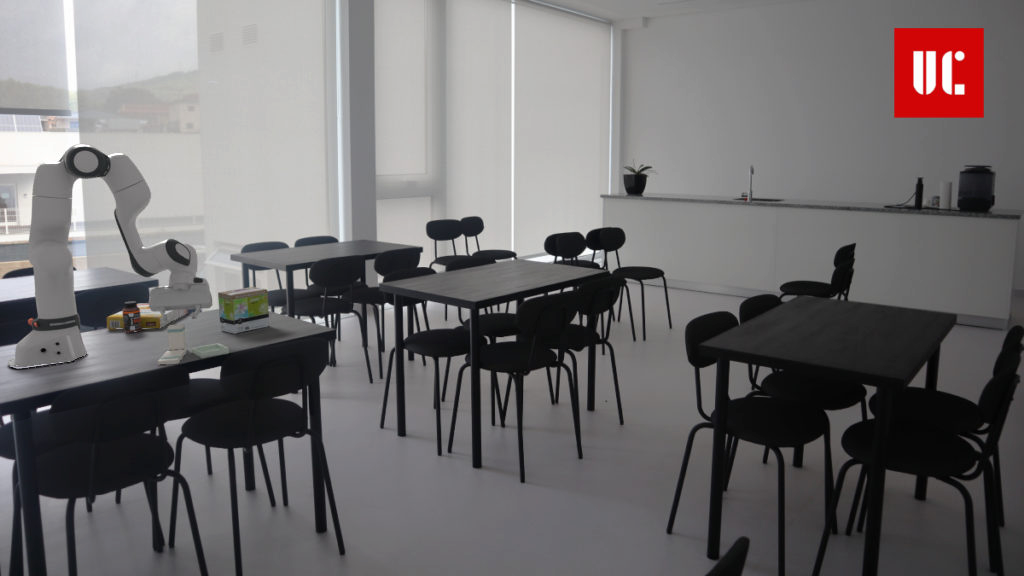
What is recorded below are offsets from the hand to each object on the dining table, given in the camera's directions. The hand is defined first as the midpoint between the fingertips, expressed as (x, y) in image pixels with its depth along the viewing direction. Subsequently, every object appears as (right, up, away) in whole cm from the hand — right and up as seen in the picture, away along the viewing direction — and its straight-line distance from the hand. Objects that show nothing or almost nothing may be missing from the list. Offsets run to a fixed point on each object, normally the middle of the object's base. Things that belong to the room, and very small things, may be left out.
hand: (179, 318), depth 264 cm
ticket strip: (+3, -12, -13) cm, 18 cm away
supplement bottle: (-29, -6, +26) cm, 39 cm away
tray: (+13, -11, -7) cm, 19 cm away
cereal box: (-31, -3, +43) cm, 53 cm away
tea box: (+13, -5, +27) cm, 31 cm away
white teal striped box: (+1, -11, -4) cm, 12 cm away
